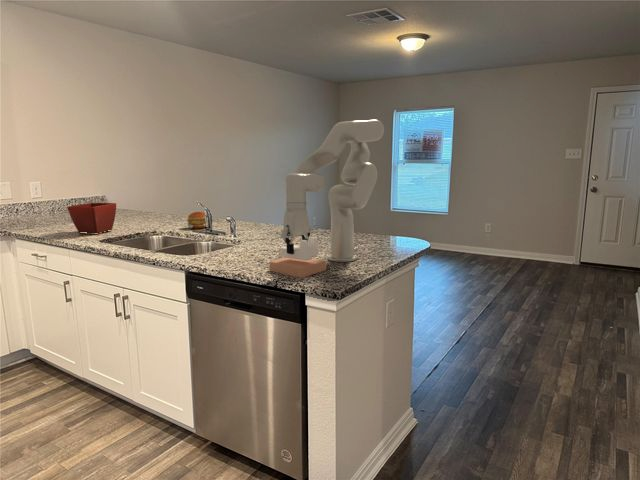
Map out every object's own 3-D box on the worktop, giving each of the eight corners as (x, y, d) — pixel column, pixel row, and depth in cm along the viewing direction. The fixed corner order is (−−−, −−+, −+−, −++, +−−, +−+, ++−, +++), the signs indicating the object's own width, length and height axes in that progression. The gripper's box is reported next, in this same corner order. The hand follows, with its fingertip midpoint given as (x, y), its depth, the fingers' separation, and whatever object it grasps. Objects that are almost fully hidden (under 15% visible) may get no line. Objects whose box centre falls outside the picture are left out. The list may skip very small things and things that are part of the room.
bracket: (317, 257, 171) (317, 237, 169) (306, 260, 165) (305, 241, 164) (292, 253, 178) (291, 234, 177) (280, 256, 173) (279, 237, 171)
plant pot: (69, 234, 259) (66, 206, 256) (94, 229, 277) (91, 202, 273) (96, 236, 253) (92, 206, 250) (120, 230, 271) (117, 203, 268)
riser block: (294, 264, 184) (294, 255, 183) (325, 270, 173) (325, 260, 172) (269, 271, 174) (269, 261, 173) (301, 278, 163) (301, 268, 162)
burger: (214, 227, 279) (213, 211, 277) (198, 230, 268) (197, 214, 266) (199, 225, 286) (198, 210, 284) (182, 228, 275) (181, 212, 273)
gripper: (304, 203, 177) (305, 246, 181) (272, 208, 164) (274, 254, 168) (318, 204, 173) (319, 249, 176) (287, 209, 160) (288, 257, 163)
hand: (297, 251), depth 172 cm, fingers closed on bracket, 7 cm apart
